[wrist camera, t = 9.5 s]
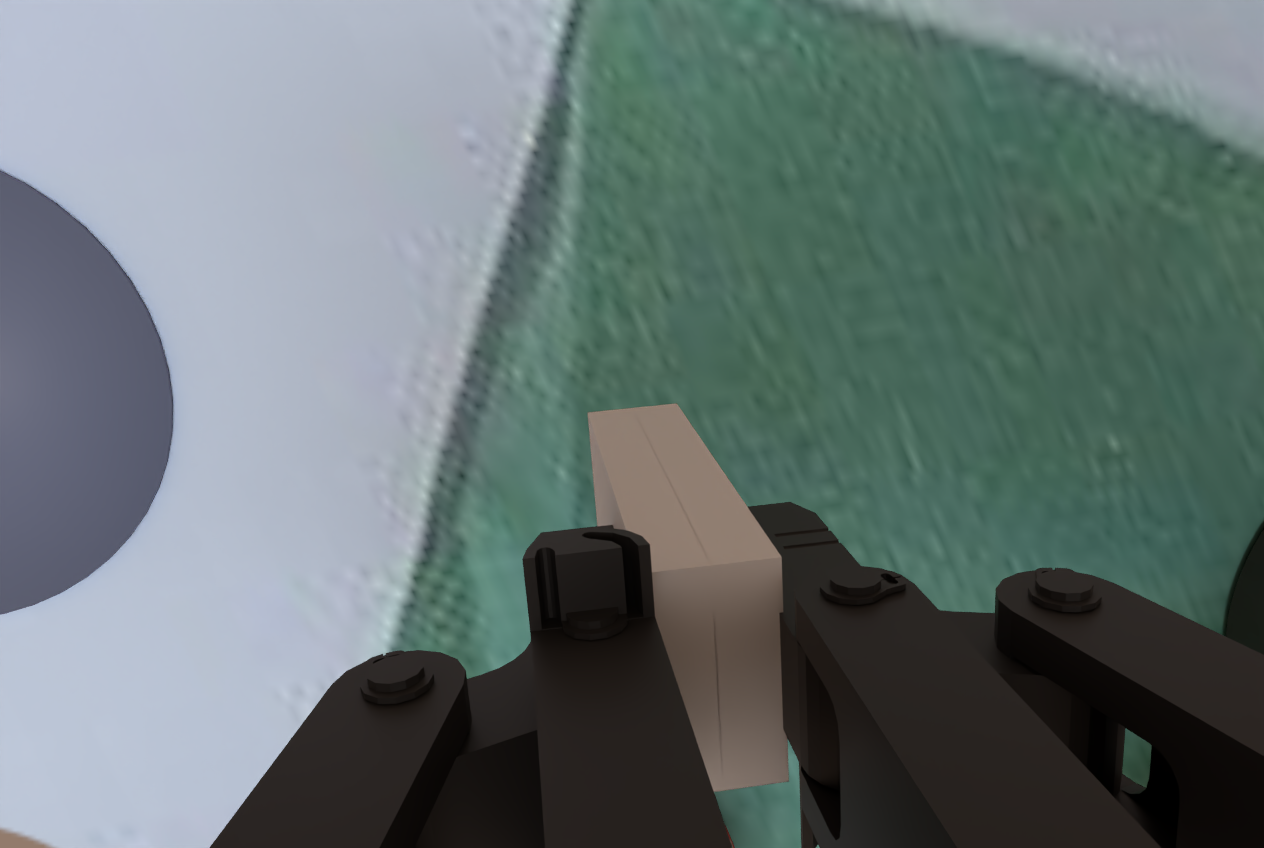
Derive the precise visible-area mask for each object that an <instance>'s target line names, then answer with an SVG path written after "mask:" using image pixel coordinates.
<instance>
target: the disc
mask: <svg viewBox="0 0 1264 848" xmlns="http://www.w3.org/2000/svg"><path fill="white" fill-rule="evenodd" d="M172 420H173V400H172V392H171V384H170V377H169V370H168V366H167V363H166V359H165V355H164V352H163V348H162V344H161V341H160V338H159V336H158V333H157V331H156V329H155V326H154V324H153V322H152V319H151V317H150V314H149V312H148V310H147V308H146V306H145V305H144V303H143V301H142V300H141V298H140V296H139V294H138V293H137V291H136V289H135V287H134V286H133V284H132V282H131V281H130V279H129V278H128V277H127V275H126V274H125V273H124V271H123V270H122V269H121V267H120V266H119V265H118V263H117V262H116V261H115V259H114V258H113V257H112V255H111V254H110V253H109V252H108V251H107V250H106V249H105V248H104V247H103V246H102V245H101V244H100V242H99V241H98V240H97V239H96V238H95V237H94V236H93V235H92V234H91V233H90V232H89V231H88V230H87V229H86V228H85V227H84V226H83V225H82V224H80V223H79V222H78V221H77V220H76V219H74V218H73V217H72V216H71V215H69V214H68V213H67V212H66V211H65V210H63V209H62V208H61V207H60V206H59V205H57V204H56V203H54V202H53V201H51V200H50V199H48V198H47V197H45V196H44V195H42V194H41V193H39V192H38V191H36V190H35V189H33V188H31V187H30V186H28V185H27V184H25V183H23V182H21V181H19V180H17V179H15V178H13V177H11V176H9V175H7V174H5V173H3V172H1V171H0V614H5V613H8V612H12V611H15V610H18V609H22V608H25V607H28V606H32V605H35V604H37V603H39V602H41V601H44V600H46V599H48V598H51V597H53V596H55V595H57V594H60V593H62V592H63V591H65V590H67V589H68V588H70V587H72V586H73V585H75V584H76V583H78V582H80V581H81V580H83V579H85V578H86V577H88V576H89V575H90V574H91V573H93V572H94V571H95V570H96V569H97V568H99V567H100V566H101V565H102V564H104V563H105V562H106V561H107V560H109V559H110V558H111V557H112V555H113V554H114V553H115V552H116V551H117V550H118V549H119V548H120V547H121V546H122V545H123V544H124V543H125V541H126V540H127V539H128V538H129V537H130V536H131V535H132V533H133V532H134V530H135V529H136V527H137V526H138V525H139V523H140V522H141V520H142V519H143V517H144V516H145V514H146V513H147V511H148V509H149V507H150V505H151V503H152V501H153V499H154V497H155V495H156V493H157V491H158V488H159V486H160V483H161V480H162V477H163V473H164V470H165V467H166V464H167V461H168V456H169V449H170V443H171V436H172Z"/></svg>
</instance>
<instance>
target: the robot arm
mask: <svg viewBox="0 0 1264 848" xmlns="http://www.w3.org/2000/svg"><path fill="white" fill-rule="evenodd" d="M588 422H589V433H590V445H591V457H592V468H593V480H594V492H595V503H596V515H597V526H596V527H587V528H579V529H570V530H561V531H552V532H543V533H541V534H540V535H539V536H538V537H537V538H536V539H535V540H534V542H533V543H532V544H531V545H530V546H529V547H528V548H527V550H526V552H525V555H524V557H523V567H524V576H525V586H526V595H527V604H528V613H529V622H530V632H531V642H530V644H529V645H528V647H527V648H526V650H525V651H524V652H523V653H522V654H520V655H519V656H518V657H517V658H516V659H514V660H513V661H511V662H509V663H508V664H506V665H504V666H502V667H500V668H498V669H496V670H493V671H490V672H488V673H485V674H482V675H479V676H476V677H473V678H470V679H467V678H466V670H465V669H464V668H463V666H462V665H461V664H460V662H459V661H458V660H457V659H455V658H453V657H450V656H448V655H446V654H443V653H441V652H431V651H421V650H416V651H407V652H404V651H394V652H389V653H386V655H384V656H383V654H381V655H378V656H375V657H372V658H370V659H369V660H367V661H366V662H364V663H362V664H360V665H358V666H356V667H354V668H352V669H350V670H348V671H346V672H345V673H344V674H343V675H342V676H341V677H340V678H339V679H337V680H336V681H335V682H334V683H333V684H332V685H331V686H330V688H329V689H328V690H327V692H326V693H325V694H324V696H323V697H322V698H321V700H320V701H319V702H318V704H317V705H316V706H315V708H314V709H313V710H312V712H311V713H310V714H309V716H308V717H307V718H306V720H305V721H304V722H303V724H302V725H301V726H300V728H299V729H298V730H297V732H296V733H295V734H294V736H293V737H292V738H291V740H290V741H289V742H288V744H287V745H286V746H285V748H284V749H283V750H282V752H281V753H280V754H279V756H278V757H277V758H276V760H275V761H274V762H273V764H272V765H271V766H270V768H269V769H268V771H267V772H266V773H265V775H264V776H263V777H262V779H261V780H260V781H259V783H258V784H257V785H256V787H255V788H254V789H253V791H252V792H251V793H250V795H249V796H248V797H247V799H246V800H245V801H244V803H243V804H242V805H241V807H240V808H239V809H238V811H237V812H236V813H235V815H234V816H233V817H232V819H231V820H230V821H229V823H228V824H227V825H226V827H225V828H224V829H223V831H222V832H221V833H220V835H219V836H218V837H217V839H216V840H215V841H214V843H213V844H212V845H211V847H210V848H732V845H731V842H730V839H729V836H728V833H727V830H726V827H725V824H724V821H723V818H722V815H721V812H720V809H719V806H718V803H717V800H716V797H715V794H714V792H717V791H724V790H731V789H738V788H745V787H752V786H759V785H766V784H773V783H781V782H788V781H789V773H788V742H787V738H788V740H789V742H790V744H791V746H792V748H793V750H794V752H795V754H796V756H797V759H798V761H799V775H800V810H801V845H802V848H816V846H817V845H819V847H820V848H1264V529H1263V531H1262V533H1261V534H1260V536H1259V538H1258V539H1257V541H1256V543H1255V544H1254V546H1253V548H1252V550H1251V552H1250V554H1249V556H1248V558H1247V560H1246V562H1245V565H1244V567H1243V569H1242V571H1241V574H1240V577H1239V579H1238V582H1237V585H1236V588H1235V591H1234V595H1233V598H1232V602H1231V606H1230V611H1229V615H1228V622H1227V629H1226V637H1225V636H1223V635H1221V634H1219V633H1217V632H1215V631H1213V630H1211V629H1209V628H1206V627H1204V626H1202V625H1200V624H1198V623H1196V622H1194V621H1192V620H1190V619H1188V618H1186V617H1183V616H1181V615H1179V614H1177V613H1175V612H1173V611H1171V610H1169V609H1167V608H1165V607H1163V606H1160V605H1158V604H1156V603H1154V602H1152V601H1150V600H1148V599H1146V598H1144V597H1142V596H1140V595H1137V594H1135V593H1133V592H1131V591H1129V590H1127V589H1125V588H1123V587H1121V586H1119V585H1117V584H1114V583H1112V582H1109V581H1106V580H1104V579H1101V578H1098V577H1095V576H1092V575H1088V574H1082V573H1077V572H1074V571H1073V570H1071V569H1065V568H1055V570H1053V569H1052V568H1039V569H1037V570H1036V571H1029V572H1022V573H1017V574H1015V575H1012V576H1010V577H1008V578H1005V579H1003V580H1002V581H1001V583H1000V584H999V585H998V587H997V588H996V597H995V613H975V612H952V611H940V610H938V609H937V608H936V607H935V606H934V604H933V603H932V602H931V601H930V600H929V599H928V598H927V597H926V596H925V595H924V594H923V593H922V592H921V591H920V589H919V588H918V587H917V586H916V585H915V584H914V583H912V582H911V581H909V580H908V579H906V578H905V577H903V576H902V575H900V574H897V573H895V572H892V571H887V570H884V569H880V568H872V567H864V566H860V565H859V563H858V562H857V561H856V560H855V559H854V558H853V556H852V555H851V554H850V553H849V552H848V551H847V549H846V548H845V547H844V546H843V545H842V544H841V543H839V542H838V539H837V538H836V537H835V535H834V534H833V533H832V532H831V531H828V527H827V526H826V525H825V524H824V523H823V521H822V520H821V519H820V518H819V517H818V516H817V514H816V513H814V512H812V511H809V510H807V509H805V508H803V507H800V506H798V505H796V504H794V503H791V502H785V503H776V504H767V505H758V506H750V507H747V506H746V504H745V503H744V501H743V500H742V498H741V497H740V495H739V494H738V493H737V491H736V490H735V488H734V487H733V485H732V484H731V482H730V481H729V479H728V478H727V476H726V475H725V473H724V472H723V471H722V469H721V468H720V466H719V465H718V463H717V462H716V460H715V459H714V457H713V456H712V454H711V453H710V451H709V450H708V449H707V447H706V446H705V444H704V443H703V441H702V440H701V438H700V437H699V435H698V434H697V432H696V431H695V429H694V428H693V427H692V425H691V424H690V422H689V421H688V419H687V418H686V416H685V415H684V413H683V412H682V410H681V409H680V408H679V406H678V405H677V404H667V405H657V406H647V407H637V408H627V409H617V410H608V411H598V412H588ZM1125 728H1127V729H1128V730H1130V731H1131V732H1133V733H1135V734H1136V735H1138V736H1139V737H1141V738H1142V739H1144V740H1146V741H1147V742H1149V743H1150V744H1151V745H1152V751H1151V763H1150V776H1149V781H1148V784H1147V787H1146V788H1145V787H1143V786H1141V785H1139V784H1136V783H1135V782H1133V781H1132V780H1130V779H1129V778H1128V777H1126V776H1125V775H1123V774H1122V767H1123V753H1124V739H1125Z"/></svg>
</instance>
